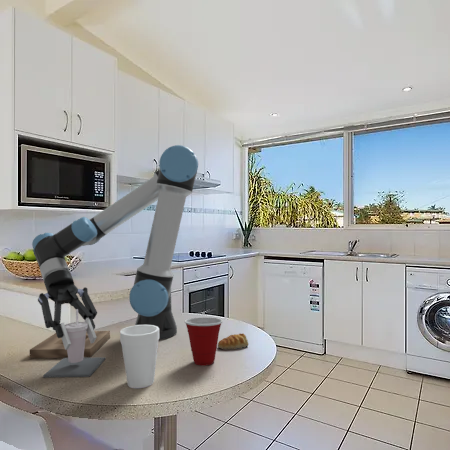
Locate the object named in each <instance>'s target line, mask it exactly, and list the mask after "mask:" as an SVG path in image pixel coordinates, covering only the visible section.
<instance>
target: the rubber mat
mask: <svg viewBox="0 0 450 450" xmlns="http://www.w3.org/2000/svg"><path fill="white" fill-rule="evenodd" d="M105 360H106V356H103V357H102V356H101V357H83V360H82V361H80V362H77V363H70V362H69V360H68V358H62V359H60V361H58V362H57V363H56V364H55V365H53V367H51V368H50V369H49V370H48V371H46V372H45V373H44V374H43V375H42V378H89V377H91V376H92V375H93V374H94V372H95V371H97V369H98V368H100V366H101V365H102V363H104V362H105Z"/></svg>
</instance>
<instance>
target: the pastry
mask: <svg viewBox="0 0 450 450" xmlns="http://www.w3.org/2000/svg"><path fill="white" fill-rule="evenodd" d="M246 346H247V347H248V346H249V341H248V338H247V336H246V334H244V333H238V334H237V333H236V334H230V335H228V336H227V337H224V338H221V339H220V340H218V342H217V347H218V348H219V349H222V350H224V349H227V350H237V349H236V348H240V349H243V348H242V347H246ZM247 347H246V348H247Z"/></svg>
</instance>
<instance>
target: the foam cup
mask: <svg viewBox="0 0 450 450" xmlns="http://www.w3.org/2000/svg"><path fill="white" fill-rule="evenodd" d="M119 333H120V334H119V341H120V344H121V350H122V357H123V363H124V370H125V377H126V382H127V386H128V387H129V388H131V389H143V388H148V387H150V386H151V385H153V384H154V382H155V375H156V374H155V373H156V367H157V366H156V365H157V355H158V347H159V340H160V339H159V327H157V326H154V325H135V324H134V325H129V326H126V327H123V328H121V329H120V331H119Z"/></svg>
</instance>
